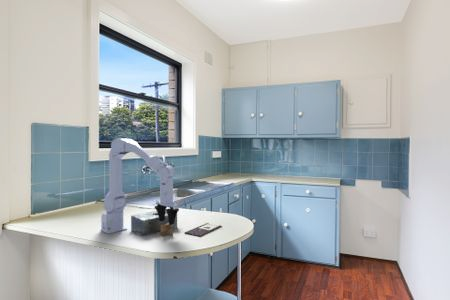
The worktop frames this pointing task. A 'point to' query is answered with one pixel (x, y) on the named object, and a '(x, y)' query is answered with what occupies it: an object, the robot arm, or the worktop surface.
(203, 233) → the chocolate bar
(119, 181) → the robot arm
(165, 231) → the tan rectangular slab
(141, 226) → the cash box
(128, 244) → the worktop surface
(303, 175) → the worktop surface
